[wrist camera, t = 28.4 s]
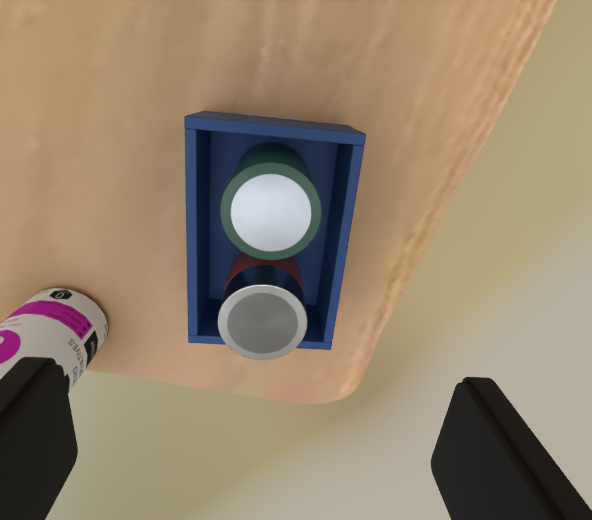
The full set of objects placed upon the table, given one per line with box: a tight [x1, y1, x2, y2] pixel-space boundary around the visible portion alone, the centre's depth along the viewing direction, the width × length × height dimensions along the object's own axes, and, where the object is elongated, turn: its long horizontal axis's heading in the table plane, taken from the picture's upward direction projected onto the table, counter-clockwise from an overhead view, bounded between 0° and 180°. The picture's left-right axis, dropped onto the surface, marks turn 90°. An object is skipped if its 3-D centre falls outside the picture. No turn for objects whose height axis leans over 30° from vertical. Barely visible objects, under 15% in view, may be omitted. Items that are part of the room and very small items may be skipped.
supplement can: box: [0, 288, 108, 393], centre depth 33 cm, size 8×8×15 cm
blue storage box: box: [185, 111, 366, 350], centre depth 34 cm, size 19×13×7 cm
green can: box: [220, 142, 322, 260], centre depth 30 cm, size 7×7×11 cm
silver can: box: [218, 248, 307, 360], centre depth 33 cm, size 7×7×11 cm
